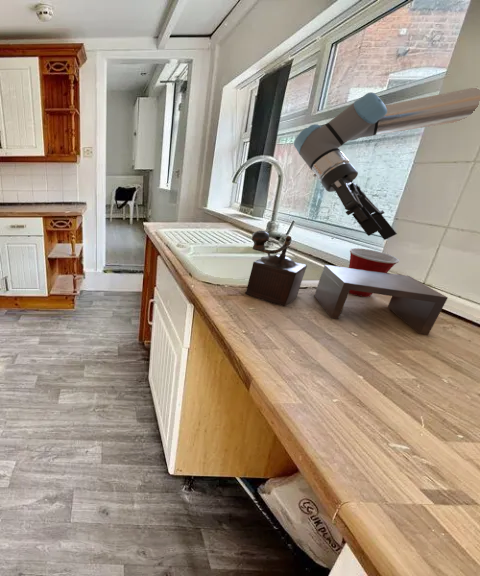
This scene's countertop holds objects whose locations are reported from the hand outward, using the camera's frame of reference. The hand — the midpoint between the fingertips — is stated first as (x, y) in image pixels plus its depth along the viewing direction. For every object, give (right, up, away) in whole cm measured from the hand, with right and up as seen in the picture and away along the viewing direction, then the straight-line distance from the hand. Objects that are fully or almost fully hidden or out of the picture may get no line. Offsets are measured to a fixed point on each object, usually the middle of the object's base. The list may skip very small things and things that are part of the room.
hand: (383, 234), depth 77 cm
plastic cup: (+4, -15, +12) cm, 19 cm away
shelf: (-6, -20, -1) cm, 20 cm away
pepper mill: (-27, -16, +5) cm, 32 cm away
